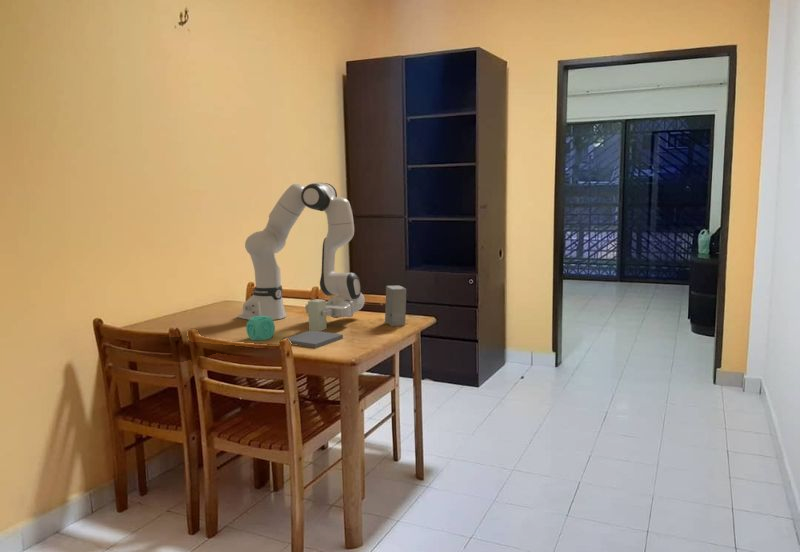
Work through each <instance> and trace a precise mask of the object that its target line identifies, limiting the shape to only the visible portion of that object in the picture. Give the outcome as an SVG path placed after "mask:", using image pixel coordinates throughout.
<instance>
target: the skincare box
mask: <svg viewBox="0 0 800 552" xmlns="http://www.w3.org/2000/svg"><path fill="white" fill-rule="evenodd" d="M406 308H407V288H405V287H404V286H401V285H386V286H385V308H384V310H385V311H384V312H385V313H384V323H385V324H387V325H389V326H390V327H400V326H401V327H402V326H405V325H406V313H407V312H406V311H407V309H406Z"/></svg>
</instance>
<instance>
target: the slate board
mask: <svg viewBox="0 0 800 552" xmlns="http://www.w3.org/2000/svg"><path fill="white" fill-rule="evenodd" d="M287 338H288V339H289V340H290V341H291V343H292V344H297V345H296V346H299V345H301V346H300V347H305V346H307V347H308V348H312V347H313V349H314V348H315V349H318V348H320V346H321V347H323V346H327V345H328V344H331V343H335V342H338V341H340V340H343V339H344V334H343V333H334V332H326V331H313V330H307V331H305V332H301V333H298V334H294V335H291V336H287ZM292 344H291V345H292Z"/></svg>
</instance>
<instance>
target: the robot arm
mask: <svg viewBox="0 0 800 552" xmlns="http://www.w3.org/2000/svg"><path fill="white" fill-rule="evenodd" d="M306 208H308V209H311V210H315V211H320V212H324V213H325V215H326V219H327V233H326V237H325V238H324V239H323V242H322V248H321V249H322V252H321V255H322V256H321V273H320V280H319V287H320V289H321V292H322V293H323V294H324V295H326V296H328V297H330V296H331V298H329V299H328V300H327V302H326V311H321V316H326V317H327V316H328V317H332V318H333V319H337V318H352V317H354V313H356V312H359V311H361V309H362V308H363V307H364V306H365V303H366V301H365V295H363V293H362V283H361V280H360V278H359V276H358V275H357V274H356V273H355V272H336V270H335V262H336V261H335V260H336V259H335V258H336V252H338V251H337V250H339V248H341V247H343V246H345V245H347V244H348V243H350V242H351V240H352V239H353V237H354V235H355V223H354V216H353V209H352V206H351V204H350V201H349V200H348V199H347V198H345V197H342V196H341V197H338V192H337V190H336V188H335V187H334V186H333V185H332V184H330V183H326V182H314V183H310V184H307V185H306V186H303V185H302V184H299V183H293V184H291V185H290V186H288V188H287V189H286V190H285V191H284V192H283V193H282V195H281V196H280V198H279V199H278V201H277V202H276V203H275V205H274V206H273V208H272V210H271V212H270V213H269V215H268V221H267V223H266V225H265V227H264V229H263V230H259V231H256V232H253V233H252V234H249V236H247V238H246V240H245V242H244V247H245V250H246V252H247V253H248V254H249V256H250V259H251V262H252V265H253V270H254V278H255V279H254V282H255V286H254V287H252V288H251V290H250V291H251V292H252V295H251V296H250V297H249V298H248V299H247V300H246V301H245V302H244V303H243V305H242V313H241V312H240V313H239V314H237V318H239V319H242V320H243V319H244V320H247V321H248V320H249V319H250V318H252V317H256V316H269V317H270V318H271V319H272V320H273V321H275V320H280V319H285V318H286V317H287V314H286V310H285V305H284V300H283V286H282V280H281V269H280V266H279V264H278V262H277V259H276V257H275V256H276V254H277V253H279V252H281V251H282V250H283V249H284V248H285V246H286V243H287V242H286V241H287V239H288V237H289V234H290V231H291V229H292V228H293V226H294V225H295V223H296V222H297V220H298V219H299V217H300V215H302V213H303V211H304V209H306ZM332 296H333V297H332ZM305 313H306V314H308V303H307V304H305Z"/></svg>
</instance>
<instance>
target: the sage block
mask: <svg viewBox="0 0 800 552" xmlns="http://www.w3.org/2000/svg"><path fill="white" fill-rule="evenodd" d="M326 301H327V300H325V299H318V298H314V299H312V300H308V301H307V304H308V313H307V314H308V328H309V330H308V331H310V330H313V331H320V332H323V331H325V329H326V330H327V329H328V328H327V327H328V326H327V324H328V323H327V315H326V316H321V311H326V303H327V302H326ZM322 330H323V331H322Z"/></svg>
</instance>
